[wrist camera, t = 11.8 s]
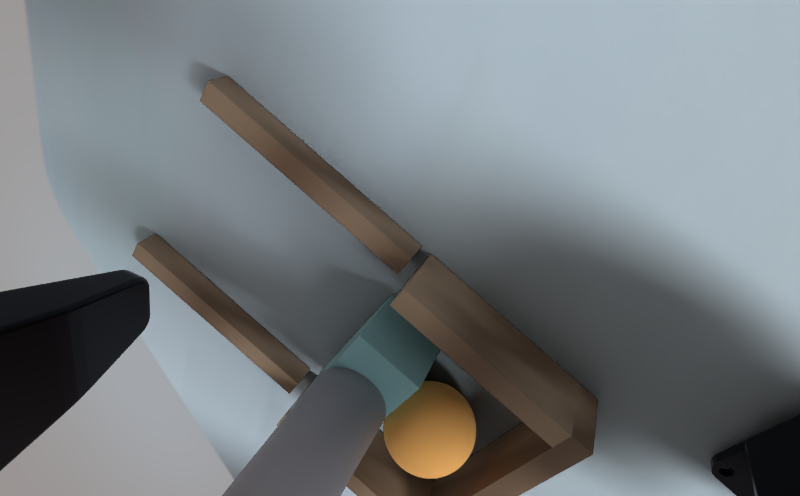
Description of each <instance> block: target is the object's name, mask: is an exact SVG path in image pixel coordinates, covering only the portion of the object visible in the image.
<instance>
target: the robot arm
mask: <svg viewBox="0 0 800 496" xmlns="http://www.w3.org/2000/svg"><path fill="white" fill-rule="evenodd" d="M149 318H150V299H149V284H148V282H147V280H146V279H145V278H143V277H141V276H139V275H137V274H135V273H133V272H130V271H127V270H118V271H113V272H107V273H102V274H96V275H91V276H85V277H80V278H74V279H69V280H63V281H58V282H52V283H47V284H41V285H36V286H30V287H25V288H20V289H14V290H8V291H3V292H0V471H1V470H2V469H3V468H4V467H5V466H6V465H7V464H8V463H10V462H11V461H12V460H13V459H14V458H15V457H16V456H18V455H19V454H20V453H21V452H22V451H23V450H24V449H25V448H26V447H27V446H29V445H30V444H31V443H32V442H33V441H34V440H35V439H37V438H38V437H39V436H40V435H41V434H42V433H43V432H44V431H45V430H46V429H48V428H49V427H50V426H51V425H52V424H53V423H54V422H55V421H56V420H58V419H59V418H60V417H61V416H62V415H63V414H64V413H65V412H66V411H68V410H69V409H70V408H71V407H72V406H73V405H74V404H75V403H76V402H77V401H78V400H79V399H80V398H81V397H82V396H83V395H84V394H85V393H86V392H87V391H88V390H89V389H90V388H91V387H92V386H93V385H94V384H95V383H96V382H97V381H98V379H99V378H100V377H101V376H102V375H103V374H104V373H105V372H106V371H107V370H108V369H109V367H111V365H112V364H113V363H114V362H115V361H116V360H117V359H118V358H119V357H120V356H121V354H122V353H123V352H124V351H125V350H126V349H127V348H128V347H129V346H130V345H131V344H132V343H133V342H134V340H135V339H136V338H137V337H138V336H139V335H140V334H141V333H142V332H143V331H144V329H145V328H146V326H147V324H148V322H149ZM710 462H711V469H712V473H713V475H714V476H715V477H716V478H717V479H718V480H719V481H721V482H722V483H723V484H724V485H725V486H726V487H727V488H729V489H730V490H731V491H732V492H733V493H734V494H735V495H737V496H800V415H798V416H796V417H794V418H792V419H790V420H788V421H786V422H784V423H782V424H779V425H777V426H775V427H773V428H771V429H769V430H767V431H765V432H763V433H761V434H758V435H756V436H754V437H752V438H750V439H748V440H746V441H744V442H742V443H740V444H738V445H736V446H733V447H731V448H729V449H727V450H725V451H723V452H721V453H719V454H717V455H715V456H713V457H712V459H711V461H710ZM724 466H727V467H730V468H728V469H725V468H721V467H724Z"/></svg>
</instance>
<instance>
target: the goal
mask: <svg viewBox="0 0 800 496" xmlns="http://www.w3.org/2000/svg"><path fill="white" fill-rule="evenodd" d="M200 101H201V102H202V103H203V104H204V105H205V106H206V107H207V108H209V109H210V110H211V111H212V112H213V113H214V114H215V115H217V116H218V117H219V118H220V119H221V120H222V121H223V122H225V123H226V124H227V125H228V126H229V127H230V128H231V129H233V130H234V131H235V132H236V133H237V134H238V135H239V136H241V137H242V138H243V139H244V140H245V141H246V142H247V143H249V144H250V145H251V146H252V147H253V148H254V149H255V150H257V151H258V152H259V153H260V154H261V155H262V156H263V157H265V158H266V159H267V160H268V161H269V162H270V163H271V164H273V165H274V166H275V167H276V168H277V169H278V170H279V171H281V172H282V173H283V174H284V175H285V176H286V177H287V178H289V179H290V180H291V181H292V182H293V183H294V184H295V185H296V186H298V187H299V188H300V189H301V190H302V191H303V192H304V193H306V194H307V195H308V196H309V197H310V198H311V199H312V200H314V201H315V202H316V203H317V204H318V205H319V206H320V207H322V208H323V209H324V210H325V211H326V212H327V213H328V214H330V215H331V216H332V217H333V218H334V219H335V220H336V221H338V222H339V223H340V224H341V225H342V226H343V227H344V228H346V229H347V230H348V231H349V232H350V233H351V234H352V235H354V236H355V237H356V238H357V239H358V240H359V241H360V242H362V243H363V244H364V245H365V246H366V247H367V248H368V249H370V250H371V251H372V252H373V253H374V254H375V255H376V256H378V257H379V258H380V259H381V260H382V261H383V262H384V263H386V264H387V265H388V266H389V267H390V268H391V269H392V270H394V271H395V272H396V273H397V274H398V273H399V272H400V271H401V270H402V269H403V267H404V266H405V265H406V264H407V263H408V262H409V261H410V260H411V259H412V257H413V256H414V255H415V254H416V252H417V251H418V250H419V249H420V248H421V246H422V245H420V244H419V243H418V242H417V241H416V240H415V239H414V238H412V237H411V236H410V235H409V234H408V233H407V232H406V231H404V230H403V229H402V228H401V227H400V226H399V225H398V224H396V223H395V222H394V221H393V220H392V219H391V218H390V217H388V216H387V215H386V214H385V213H384V212H383V211H382V210H380V209H379V208H378V207H377V206H376V205H375V204H374V203H373V202H371V201H370V200H369V199H368V198H367V197H366V196H365V195H363V194H362V193H361V192H360V191H359V190H358V189H357V188H355V187H354V186H353V185H352V184H351V183H350V182H349V181H347V180H346V179H345V178H344V177H343V176H342V175H341V174H339V173H338V172H337V171H336V170H335V169H334V168H333V167H331V166H330V165H329V164H328V163H327V162H326V161H325V160H323V159H322V158H321V157H320V156H319V155H318V154H317V153H315V152H314V151H313V150H312V149H311V148H310V147H309V146H307V145H306V144H305V143H304V142H303V141H302V140H301V139H299V138H298V137H297V136H296V135H295V134H294V133H293V132H291V131H290V130H289V129H288V128H287V127H286V126H285V125H283V124H282V123H281V122H280V121H279V120H278V119H277V118H275V117H274V116H273V115H272V114H271V113H270V112H269V111H267V110H266V109H265V108H264V107H263V106H262V105H261V104H259V103H258V102H257V101H256V100H255V99H254V98H253V97H251V96H250V95H249V94H248V93H247V92H246V91H245V90H243V89H242V88H241V87H240V86H239V85H238V84H237V83H235V82H234V81H233V80H232V79H231V78H230V77H229V76H226V77H221V78H217V79H213V80H209V81H208V82H207V85H206V87H205V89H204V92H203V94H202V96H201V99H200ZM132 256H133V257H134V258H135V259H137V260H138V261H139V262H140V263H141V264H142V265H143V266H145V267H146V268H147V269H148V270H149V271H150V272H151V273H152V274H154V275H155V276H156V277H157V278H158V279H159V280H160V281H162V282H163V283H164V284H165V285H166V286H167V287H168V288H170V289H171V290H172V291H173V292H174V293H175V294H176V295H178V296H179V297H180V298H181V299H182V300H183V301H184V302H186V303H187V304H188V305H189V306H190V307H191V308H192V309H193V310H195V311H196V312H197V313H198V314H199V315H200V316H201V317H203V318H204V319H205V320H206V321H207V322H208V323H209V324H211V325H212V326H213V327H214V328H215V329H216V330H217V331H219V332H220V333H221V334H222V335H223V336H224V337H225V338H227V339H228V340H229V341H230V342H231V343H232V344H233V345H235V346H236V347H237V348H238V349H239V350H240V351H241V352H242V353H244V354H245V355H246V356H247V357H248V358H249V359H250V360H252V361H253V362H254V363H255V364H256V365H257V366H258V367H260V368H261V369H262V370H263V371H264V372H265V373H266V374H268V375H269V376H270V377H271V378H272V379H273V380H274V381H276V382H277V383H278V384H279V385H280V386H281V387H282V388H283V389H285V390H286V391H287V392H288V393H290V392H291V391H292V390H293V389H294V388H295V387H296V386H297V385H298V383H299V382H300V381H301V380H302V379H303V377H304V376H305V375H306V374H307V373H308V372H309V370H310V368H309V367H307V366H306V365H305V364H304V363H303V362H302V361H301V360H299V359H298V358H297V357H296V356H295V355H294V354H293V353H291V352H290V351H289V350H288V349H287V348H286V347H285V346H283V345H282V344H281V343H280V342H279V341H278V340H277V339H276V338H274V337H273V336H272V335H271V334H270V333H269V332H268V331H266V330H265V329H264V328H263V327H262V326H261V325H260V324H258V323H257V322H256V321H255V320H254V319H253V318H252V317H250V316H249V315H248V314H247V313H246V312H245V311H244V310H242V309H241V308H240V307H239V306H238V305H237V304H236V303H234V302H233V301H232V300H231V299H230V298H229V297H228V296H227V295H225V294H224V293H223V292H222V291H221V290H220V289H219V288H217V287H216V286H215V285H214V284H213V283H212V282H211V281H209V280H208V279H207V278H206V277H205V276H204V275H203V274H201V273H200V272H199V271H198V270H197V269H196V268H195V267H193V266H192V265H191V264H190V263H189V262H188V261H187V260H185V259H184V258H183V257H182V256H181V255H180V254H179V253H178V252H176V251H175V250H174V249H173V248H172V247H171V246H170V245H168V244H167V243H166V242H165V241H164V240H163V239H162V238H160V237H159V236H158V235H157V234H154V235H152V236H150V237H148V238H146V239H144V240H143V241H141V242H139V243H137V246H136V248H135V250H134V253H133V255H132ZM390 306H391V307H392V308H393V309H395V310H396V311H397V312H398V313H399V314H400V315H401V316H403V317H404V318H405V319H406V320H407V321H408V322H409V323H411V324H412V325H413V326H414V327H415V328H416V329H417V330H419V331H420V332H421V333H422V334H423V335H424V336H425V337H427V338H428V339H429V340H430V341H431V342H432V343H433V344H435V345H436V346H437V347H438V348H439V349H440V350H441V351H443V352H444V353H445V354H446V355H447V356H448V357H449V358H451V359H452V360H453V361H454V362H455V363H456V364H457V365H459V366H460V367H461V368H462V369H463V370H464V371H465V372H467V373H468V374H469V375H470V376H471V377H472V378H473V379H475V380H476V381H477V382H478V383H479V384H480V385H481V386H483V387H484V388H485V389H486V390H487V391H488V392H489V393H490V394H492V395H493V396H494V397H495V398H496V399H497V400H498V401H500V402H501V403H502V404H503V405H504V406H505V407H506V408H508V409H509V410H510V411H511V412H512V413H513V414H514V415H516V416H517V417H518V418H519V419H520V420H521V421H522V422H521V423H520V424H518V425H517V426H515V427H514V428H512V429H511V430H509V431H508V432H506V433H505V434H503V435H502V436H500V437H499V438H497V439H496V440H494V441H493V442H491V443H490V444H488V445H487V446H485V447H484V448H482V449H481V450H479V451H478V452H476V453H475V454H473V455H472V456H470V457H469V458H468V459H467V460H466V462H465V463H464V464H463V465H462V466H461V467H460V468H459V469H457V470H456V471H455V472H453V473H451V474H449V475H447V476H444V477H440V478H437V479H435V478H433V479H428V478H421V477H417V476H414V475H412V474H410V473H408V472H406V471H405V470H404V469H402V468H401V467H400V466H399V465H398V464H397V463H396V462H395V461H394V459H393V458H392V456H391V455H390V453H389V451H388V449H387V447H386V443H385V440H384V433H383V432H381V431H380V430H378V432H377V433H376V435H375V437H374V439H373V440H372V442H371V444H370V446H369V447H368V449H367V451H366V452H365V454H364V456H363V458H362V459H361V461H360V463H359V465H358V466H357V468H356V470H355V471H354V473H353V475H352V477H351V478H350V480H349V482H348V484H347V485H346V486H347V487H348V488H349V489H350V490H351V491H353V492H354V493H355V494H356V495H357V496H519V495H521V494H522V493H524V492H526V491H528V490H530V489H531V488H533V487H535V486H537V485H539V484H540V483H542V482H544V481H546V480H548V479H549V478H551V477H553V476H555V475H557V474H558V473H560V472H562V471H564V470H566V469H567V468H569V467H571V466H573V465H575V464H576V463H578V462H580V461H582V460H584V459H585V458H587V457H589V456H591V455H593V448H594V438H595V427H596V417H597V407H598V399H596V398H595V397H594V396H593V395H592V394H591V393H590V392H588V391H587V390H586V389H585V388H584V387H583V386H582V385H580V384H579V383H578V382H577V381H576V380H575V379H574V378H572V377H571V376H570V375H569V374H568V373H567V372H566V371H564V370H563V369H562V368H561V367H560V366H559V365H558V364H556V363H555V362H554V361H553V360H552V359H551V358H550V357H548V356H547V355H546V354H545V353H544V352H543V351H542V350H540V349H539V348H538V347H537V346H536V345H535V344H534V343H532V342H531V341H530V340H529V339H528V338H527V337H526V336H524V335H523V334H522V333H521V332H520V331H519V330H518V329H516V328H515V327H514V326H513V325H512V324H511V323H510V322H508V321H507V320H506V319H505V318H504V317H503V316H502V315H500V314H499V313H498V312H497V311H496V310H495V309H494V308H492V307H491V306H490V305H489V304H488V303H487V302H486V301H484V300H483V299H482V298H481V297H480V296H479V295H478V294H476V293H475V292H474V291H473V290H472V289H471V288H470V287H468V286H467V285H466V284H465V283H464V282H463V281H462V280H460V279H459V278H458V277H457V276H456V275H455V274H454V273H452V272H451V271H450V270H449V269H448V268H447V267H446V266H444V265H443V264H442V263H441V262H440V261H439V260H438V259H436V258H435V257H434V256H433V255H432V254H431V255H430V256H429V257H428V258H427V259H426V260H425V261H424V262H423V263H422V264H421V265H420V266H419V268H418V269H417V270H416V271H415V272H414V274H413V275H412V276H411V278H410V279H409V280H408V282H407V283H406V284H405V286H404V287H403V288H402V290H401V291H400V292H399V293H398V295H397V296H396V297H395V299H394V300H393V301H392V303H391V304H390ZM313 381H314V380H313ZM313 381H312V382H313ZM312 382H311V383H312ZM309 386H310V385H309ZM309 386H308V387H309ZM308 387H307V388H308ZM307 388H306V389H307ZM306 389H305V391H306ZM305 391H304V392H305ZM304 392H303V393H304ZM303 393H302V394H303ZM302 394H301V396H302ZM301 396H300V397H301ZM300 397H299V398H300ZM299 398H298V399H299ZM298 399H297V401H298ZM297 401H296V402H297ZM296 402H295V403H296ZM295 403H294V404H295ZM294 404H293V405H294ZM293 405H292V407H293ZM292 407H291V408H292ZM291 408H290V409H291ZM290 409H289V410H288V412H287V413H286V414H285V415H284V417H283V418H282V419H281V420H280V421H279V423H278V424H277V426H279V425H280V423H281V422H282V421H283V420H284V418H285V417H286V416H287V415H288V413H289V412H290V411H291V410H290Z"/></svg>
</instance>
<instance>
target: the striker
mask: <svg viewBox="0 0 800 496" xmlns="http://www.w3.org/2000/svg"><path fill="white" fill-rule="evenodd" d="M394 299H395V296H393V295H391V296H390V297H389V298H388V299H387V300H386V301H385V302H384V303H383V304H382V306H381V307H380V308H379V309H378V310H377V311H376V312H375V313H374V314H373V315H372V316H371V317H370V318H369V320H368V321H367V322H366V323H365V324H364V325H363V326H362V327H361V328H360V329H359V330H358V331H357V332H356V334H355V335H354V336H353V337H352V338H351V339H350V340H349V341H348V342H347V343H346V344H345V345H344V346H343V348H342V349H341V350H340V351H339V352H338V353H337V354H336V355H335V356H334V357H333V358H332V359H331V360H330V362H329V363H328V364H327V365H326V366H325V367H324V368H323V370H322V371H321V372H320V373H319V375H318V376H317V377H316V378H315V379H314V381H313V382H312V383H311V384H310V386H309V387H308V388H307V389H306V391H305V392H304V393H303V394H302V396H301V397H300V398H299V399H298V401H297V402H296V403H295V404H294V405H293V407H292V408H291V409H290V410H291V411H290V412H289V413H288V415H287V416H286V417H285V418H284V420H283V421H282V422H281V423H280V425H279V426H278V427H277V428H276V429H275V431H274V432H273V433H272V434H271V436H270V437H269V438H268V439H267V441H266V442H265V443H264V444H263V446H262V447H261V448H260V449H259V451H258V452H257V453H256V454H255V456H254V457H253V458H252V459H251V460H250V462H249V463H248V464H247V465H246V467H245V468H244V469H243V470H242V472H241V473H240V474H239V475H238V477H237V478H236V479H235V480H234V482H233V483H232V484H231V485H230V487H229V488H228V489H227V490H226V492H225V493H224V494H223V495H222V496H341V494H342V492H343V491H344V489H345V487H346V485H347V484H348V482H349V480H350V478H351V477H352V475H353V473H354V471H355V470H356V468H357V466H358V465H359V463H360V461H361V459H362V458H363V456H364V454H365V452H366V451H367V449H368V447H369V446H370V444H371V442H372V440H373V439H374V437H375V435H376V433H377V432H378V430H379V428H380V426H381V425H382V423H383V421H384V419H385V418H386V417H387V416H388V415H389V414H390V413H392V412H393V411H394V410H395V409H396V408H397V407H399V406H400V405H401V404H402V403H403V402H404V401H406V400H407V399H408V398H409V397H410V396H411V395H413V394H414V393H415V392H416V391H417V390H419V389H420V387H421V385H422V383H423V381H424V379H425V378H426V376H427V374H428V372H429V370H430V368H431V366H432V365H433V363H434V361H435V359H436V357H437V355H438V353H439V351H440V349H439V348H438V347H437V346H436V345H435V344H433V343H432V342H431V341H430V340H429V339H428V338H427V337H425V336H424V335H423V334H422V333H421V332H420V331H419V330H417V329H416V328H415V327H414V326H413V325H412V324H411V323H409V322H408V321H407V320H406V319H405V318H404V317H403V316H401V315H400V314H399V313H398V312H397V311H396V310H395V309H393V308H392V307H391V306H390V304H391V303H392V301H393V300H394Z"/></svg>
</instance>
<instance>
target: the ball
mask: <svg viewBox="0 0 800 496" xmlns="http://www.w3.org/2000/svg"><path fill="white" fill-rule="evenodd" d="M383 433H384V440H385V443H386V447H387V449H388V451H389V453H390V455H391V456H392V458H393V459H394V461H395V462H396V463H397V464H398V465H399V466H400V467H401V468H402V469H404V470H405V471H406V472H408V473H410V474H412V475H414V476H417V477H421V478H428V479H433V478H440V477H444V476H447V475H449V474H451V473H453V472H455V471H456V470H457V469H459V468H460V467H461V466H462V465H463V464H464V463H465V462H466V460H467V459H468V457H469V456H470V454H471V452H472V450H473V447H474V444H475V439H476V422H475V417H474V414H473V411H472V409H471V407H470V405H469V403H468V402H467V400H466V399H465V398H464V397H463V396H462V394H461V393H459V392H458V391H457V390H456V389H454V388H453V387H451V386H449V385H447V384H444V383H441V382H437V381H423V383H422V385H421V387H420V389H419V390H417V391H416V392H415V393H414V394H413V395H411V396H410V397H409V398H408V399H407V400H406V401H404V402H403V403H402V404H401V405H400V406H399V407H397V408H396V409H395V410H394V411H393V412H392V413H390V414H389V415H388V416H387V417H386V418H385V419H384V425H383Z"/></svg>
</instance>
